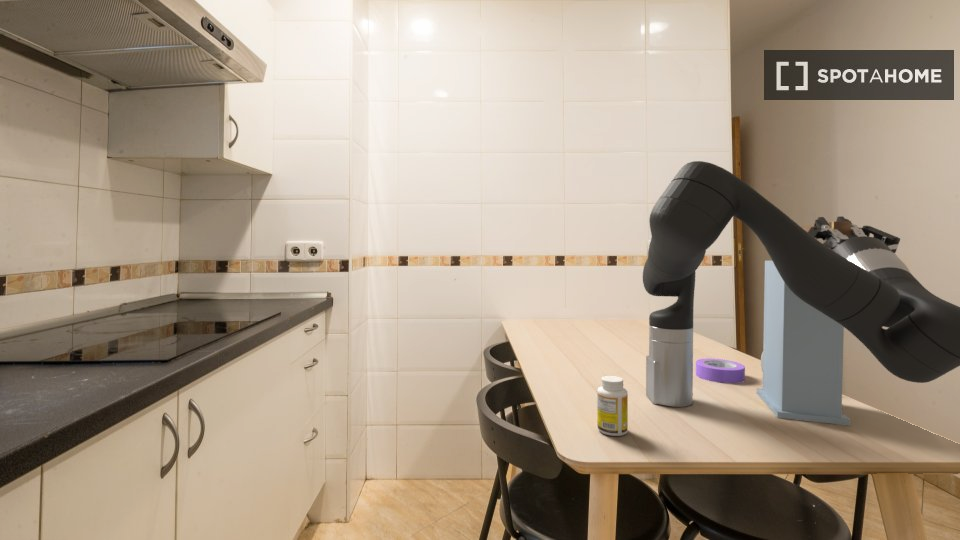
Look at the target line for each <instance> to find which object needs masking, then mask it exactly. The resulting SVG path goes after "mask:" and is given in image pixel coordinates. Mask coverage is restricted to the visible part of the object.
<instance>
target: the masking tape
mask: <svg viewBox="0 0 960 540" xmlns="http://www.w3.org/2000/svg"><path fill="white" fill-rule="evenodd" d="M745 373H746V367H745V365H744V364H742V363H741V362H738V361H733V360H730V359H723V358H707V357H706V358H700V359H697V360H696V361H695V376H696V377H698V378H700V379H703V380H704V381H705V380H706V381H708V380H709V381H710V382H715V383H721V384H740V383H743V382H745V379H746V376H745V375H746V374H745Z"/></svg>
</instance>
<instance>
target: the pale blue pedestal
mask: <svg viewBox="0 0 960 540" xmlns="http://www.w3.org/2000/svg"><path fill="white" fill-rule="evenodd" d="M763 292H764V295H763V300H764V301H763V344H762V346H763V351H762V352H763V372H762V388H756V395H757V396H759V398H760V399H761V400H762V402H764V404H765V405H766V406H767V407H768V409H769V410H770V411H771V412H772V413H773V414H774V415H775V417H776V418H777V419H785V420H793V421H794V420H795V421H796V420H797V421H805V422H813V423H821V424H822V423H823V424H825V423H826V424H832V425H833V424H834V425H842V426H843V425H844V426H851V419H850V418H849V417H848V416H846V415H845V414H844V413H843V411H842V409H843V408H842V407H843V406H842V405H843V404H842V403H843V402H842V401H843V376H844V375H843V372H844V371H843V368H844V365H843V364H844V335H845V334H844V332H845V331H844V329H845V327H843V326H842V325H841V324H839V323H838V322H836V321H834V320H833V319H831V318H830V317H828V316H826V315H825V314H823V313H822V312H820V311H818V310H817V309H815V308H814V307H812V306H810V305H809V304H807V303H805V302H804V301H803V300H801V299H800V298H799V297H797V296H796V295H795V294H794V293H793V292H792V291H791V290H790V289H789V287H788V286H787V285H786V284H785V282H784V281H783V279H782V277H781V276H780V274H779V272H778V270H777V269H776V267H775V265H774V263H773V261H772V260H764V291H763Z"/></svg>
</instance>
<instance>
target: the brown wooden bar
mask: <svg viewBox="0 0 960 540" xmlns="http://www.w3.org/2000/svg"><path fill="white" fill-rule="evenodd" d="M851 223H852V221H851V220H849V221H838V222H836V221H831V222H828V224H829V226H830V227H831V228H832V229H837V230H838V231H840V232H841V233H842V234H843V235H850V231H851ZM800 227H801V228H803V229H804V230H805V231H806V232H808V231H809V230H810V228H811V227H814V224H811V225H805V226H800Z"/></svg>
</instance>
